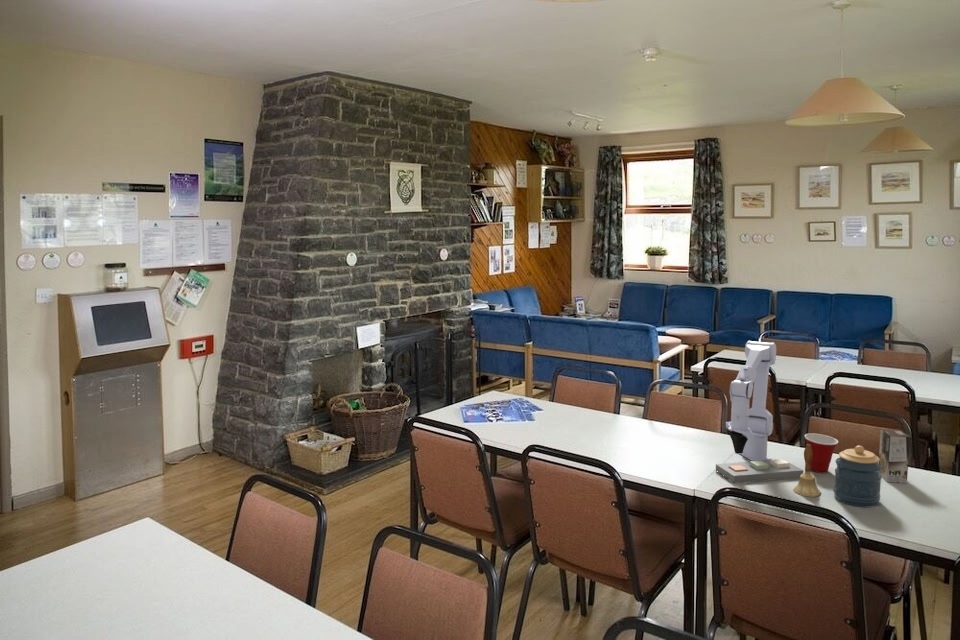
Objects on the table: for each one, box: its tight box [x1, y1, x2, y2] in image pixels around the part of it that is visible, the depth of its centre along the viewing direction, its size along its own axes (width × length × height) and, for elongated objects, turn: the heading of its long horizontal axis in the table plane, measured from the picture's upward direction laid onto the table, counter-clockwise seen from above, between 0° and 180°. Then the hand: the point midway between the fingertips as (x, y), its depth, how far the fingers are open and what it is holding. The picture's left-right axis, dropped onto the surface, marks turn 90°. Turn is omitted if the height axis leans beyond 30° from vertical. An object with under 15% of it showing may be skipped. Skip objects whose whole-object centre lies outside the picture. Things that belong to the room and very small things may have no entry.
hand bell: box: [792, 444, 822, 497], centre depth 225 cm, size 8×8×16 cm
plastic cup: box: [804, 432, 839, 474], centre depth 245 cm, size 11×11×12 cm
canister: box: [833, 445, 883, 508], centre depth 218 cm, size 13×13×18 cm
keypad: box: [715, 460, 804, 484], centre depth 242 cm, size 12×26×2 cm, turn 100°
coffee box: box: [878, 428, 911, 484], centre depth 236 cm, size 9×6×16 cm
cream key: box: [770, 458, 790, 468], centre depth 244 cm, size 4×4×2 cm
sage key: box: [749, 460, 769, 470], centre depth 242 cm, size 4×4×2 cm
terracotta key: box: [729, 465, 747, 472], centre depth 241 cm, size 4×4×2 cm
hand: (738, 453), depth 240 cm, fingers closed
